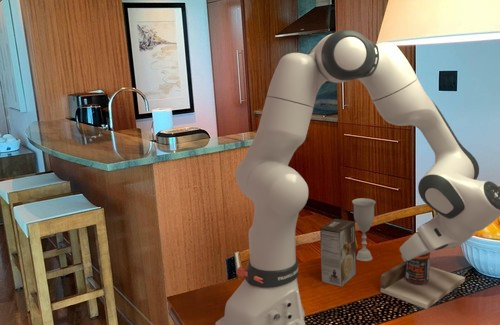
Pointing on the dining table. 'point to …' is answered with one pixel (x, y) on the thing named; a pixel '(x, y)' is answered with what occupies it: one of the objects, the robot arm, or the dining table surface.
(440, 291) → the edge board
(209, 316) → the dining table surface
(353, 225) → the coffee box
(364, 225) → the chalice
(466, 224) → the robot arm
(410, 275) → the supplement bottle
